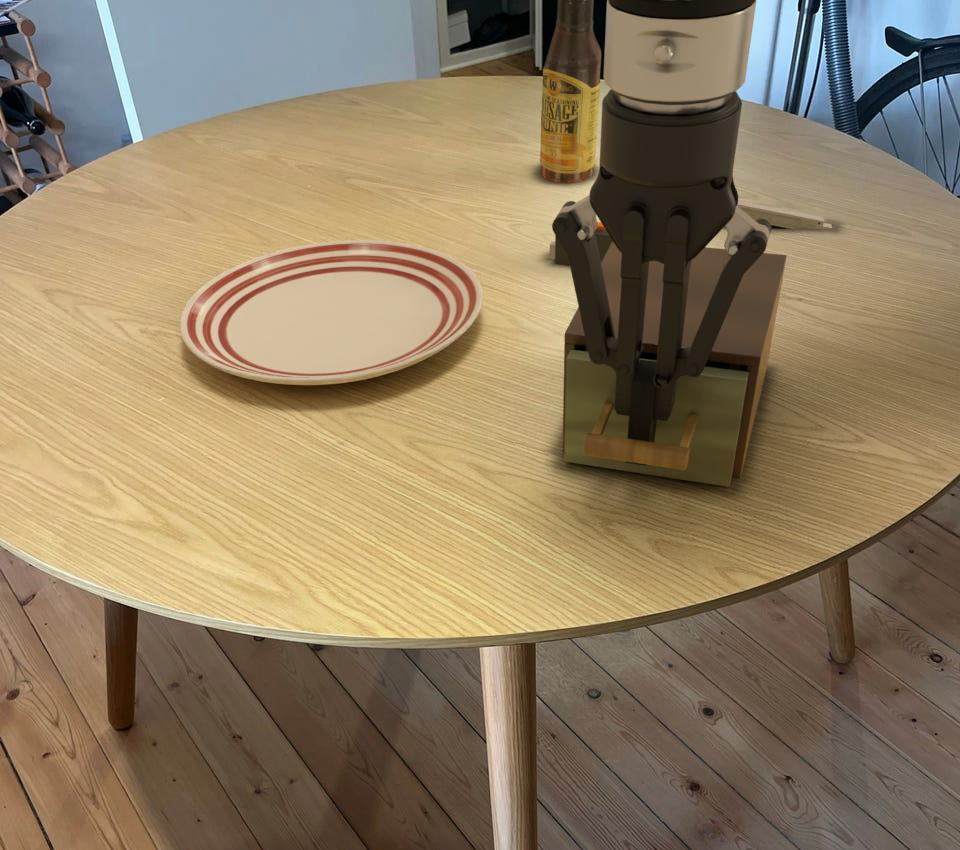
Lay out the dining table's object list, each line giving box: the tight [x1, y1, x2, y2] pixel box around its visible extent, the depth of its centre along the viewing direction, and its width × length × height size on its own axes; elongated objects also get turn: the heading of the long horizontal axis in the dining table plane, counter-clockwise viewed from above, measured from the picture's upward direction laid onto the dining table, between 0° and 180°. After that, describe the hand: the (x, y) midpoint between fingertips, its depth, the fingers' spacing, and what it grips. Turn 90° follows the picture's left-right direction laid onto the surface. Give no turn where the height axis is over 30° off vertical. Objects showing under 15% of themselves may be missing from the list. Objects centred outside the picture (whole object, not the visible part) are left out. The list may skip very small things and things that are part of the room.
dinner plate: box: [179, 239, 484, 386], centre depth 93 cm, size 27×27×3 cm
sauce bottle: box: [539, 0, 602, 184], centre depth 110 cm, size 6×6×20 cm
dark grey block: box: [549, 221, 612, 267], centre depth 100 cm, size 7×3×4 cm, turn 72°
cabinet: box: [562, 241, 788, 479], centre depth 79 cm, size 16×14×11 cm
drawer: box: [564, 346, 749, 488], centre depth 76 cm, size 20×12×9 cm, turn 162°
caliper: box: [737, 200, 833, 230], centre depth 104 cm, size 20×1×6 cm, turn 83°
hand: (640, 453), depth 72 cm, fingers closed
